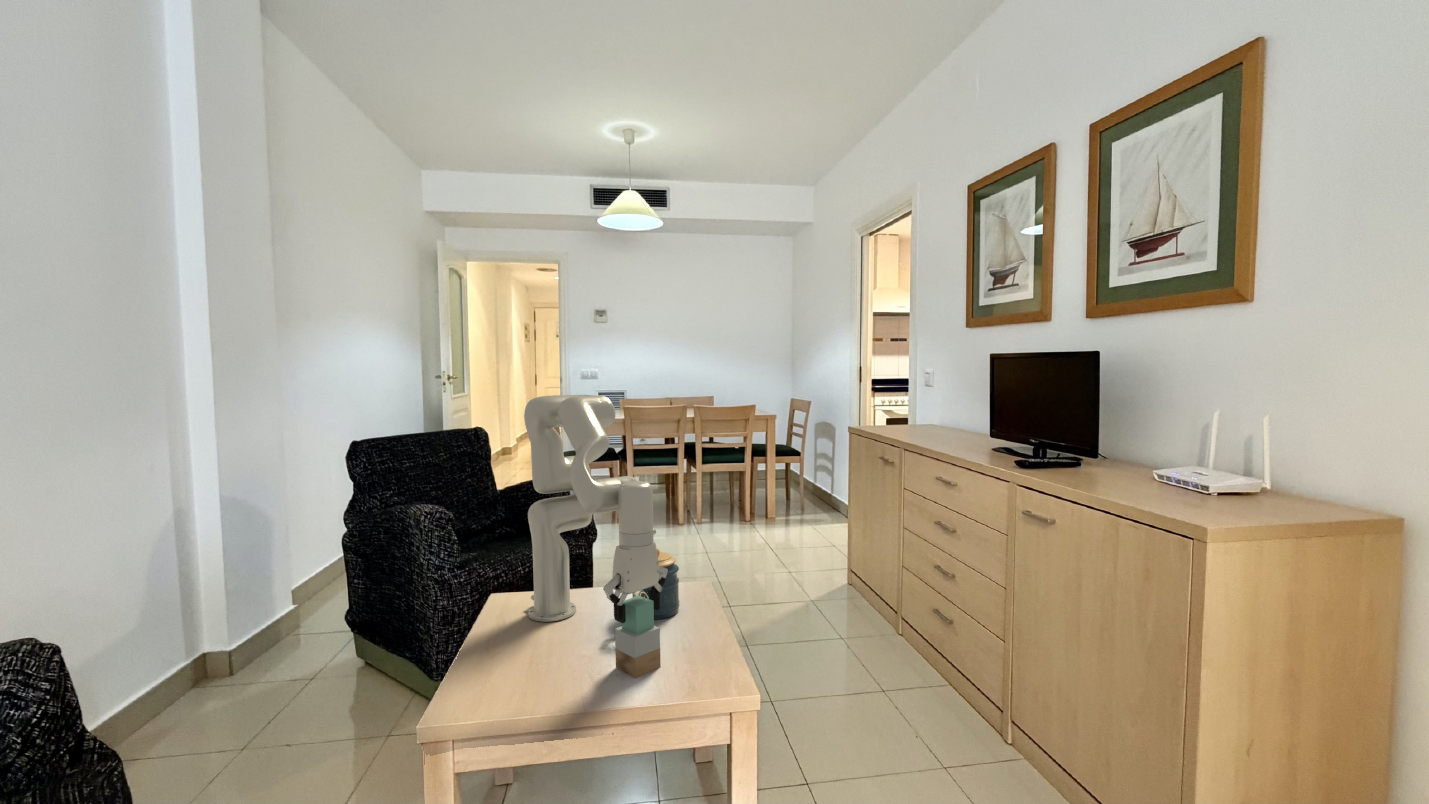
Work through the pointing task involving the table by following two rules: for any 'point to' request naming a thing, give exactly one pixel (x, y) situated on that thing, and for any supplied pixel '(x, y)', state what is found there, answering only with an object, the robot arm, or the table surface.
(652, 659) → the base block
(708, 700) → the table surface
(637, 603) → the stack block
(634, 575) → the robot arm
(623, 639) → the top block
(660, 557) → the canister
